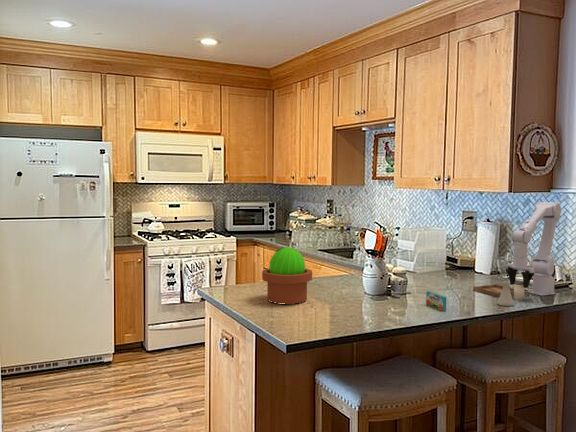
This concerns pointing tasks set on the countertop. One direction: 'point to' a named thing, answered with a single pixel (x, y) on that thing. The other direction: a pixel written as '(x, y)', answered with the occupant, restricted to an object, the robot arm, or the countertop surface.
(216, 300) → the countertop surface
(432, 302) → the teal printed box
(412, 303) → the countertop surface
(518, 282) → the pepper shaker
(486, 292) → the tray
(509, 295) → the flask
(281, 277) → the potted cactus
